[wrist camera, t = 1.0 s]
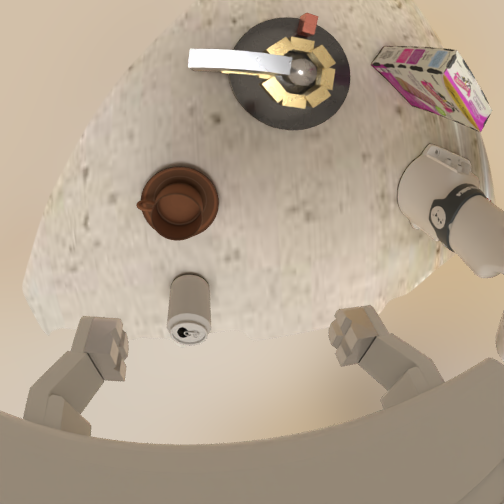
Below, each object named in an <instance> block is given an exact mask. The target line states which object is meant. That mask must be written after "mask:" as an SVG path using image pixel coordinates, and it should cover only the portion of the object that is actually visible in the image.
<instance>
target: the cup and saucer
mask: <svg viewBox="0 0 504 504" xmlns="http://www.w3.org/2000/svg"><path fill="white" fill-rule="evenodd" d="M218 205H219V202H218V195H217V192H216V189H215V187H214V186H213V184H212V183H211V181H210V180H209V179H208V178H207V177H206V176H205V175H203V174H202V173H200V172H198V171H196V170H194V169H191V168H187V167H172V168H168V169H165V170H162V171H160V172H158V173H157V174H155V175H154V176H153V177H152V178H151V179H150V180H149V181H148V182H147V184H146V185H145V187H144V189H143V192H142V196H141V201H139V202H138V203H137V208H138V209H140V210H142V212H143V215H144V217H145V219H146V221H147V222H148V223H149V225H150V226H151V227H152V228H153V229H155V230H156V231H157V232H158V233H159V234H160V235H161V236H163V237H165V238H167V239H170V240H185V239H188V238H190V237H192V236H195V235H198V234H200V233H201V232H203V231H204V230H206V229H207V228H208V227H209V226H210V225H211V224H212V222H213V221H214V219H215V217H216V215H217V212H218Z"/></svg>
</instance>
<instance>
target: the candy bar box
mask: <svg viewBox="0 0 504 504" xmlns="http://www.w3.org/2000/svg"><path fill="white" fill-rule="evenodd" d="M371 65H372V66H373V67H374V68H375V69H376V70H377V71H379V72H380V73H381V74H382V75H383V76H384V77H385V78H386V79H387V80H388V81H389V82H390V83H391V84H392V85H393V86H394V87H395V88H396V89H397V90H398V91H399V92H400V93H401V94H402V95H403V96H404V98H405V99H406V100H407V101H408V102H409V103H410V104H411V105H412V106H414V107H417V108H420V109H423V110H426V111H429V112H432V113H435V114H437V115H440V116H443V117H446V118H448V119H450V120H453V121H455V122H458V123H460V124H462V125H465V126H467V127H469V128H472V129H474V130H476V131H478V132H481V131H482V129H483V127H484V125H485V123H486V121H487V119H488V118H489V116H490V114H491V112H492V109H491V107H490V105H489V103H488V101H487V99H486V97H485V95H484V93H483V91H482V90H481V88H480V86H479V84H478V82H477V81H476V79H475V77H474V76H473V74H472V72H471V71H470V69H469V67H468V66H467V64H466V63H465V61H464V60H463V58H462V57H461V55H460V54H459V52H458V51H457V50H451V49H442V48H431V47H430V48H429V47H410V46H408V47H406V46H387V47H385V46H384V47H383V48H382V50H381V51H380V53H379V54H378V56H377V57H376V58H375V59H374V61H373V62H372V64H371Z"/></svg>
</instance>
